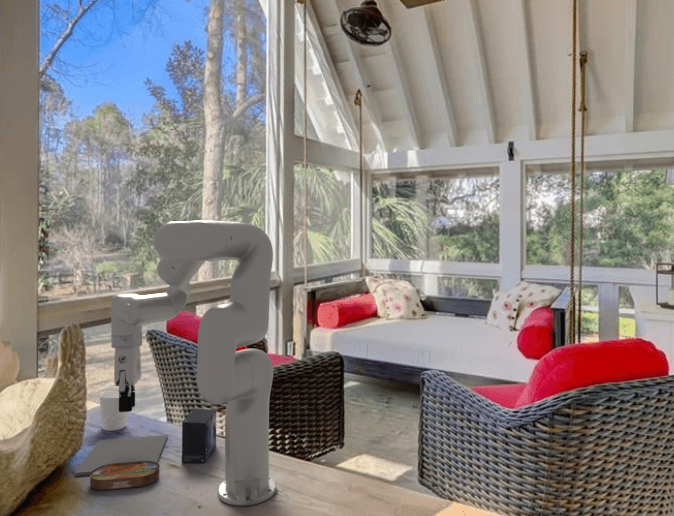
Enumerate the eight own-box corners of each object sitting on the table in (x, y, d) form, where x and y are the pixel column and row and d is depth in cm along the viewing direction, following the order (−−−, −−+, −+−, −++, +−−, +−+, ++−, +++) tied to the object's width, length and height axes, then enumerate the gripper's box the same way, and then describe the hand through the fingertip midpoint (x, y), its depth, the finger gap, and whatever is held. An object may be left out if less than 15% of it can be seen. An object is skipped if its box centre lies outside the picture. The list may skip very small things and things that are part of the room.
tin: (162, 459, 119) (156, 472, 111) (162, 472, 119) (156, 486, 111) (96, 464, 116) (84, 478, 108) (96, 477, 116) (84, 492, 108)
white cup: (111, 433, 142) (110, 399, 142) (94, 428, 146) (93, 395, 146) (134, 425, 149) (134, 392, 149) (117, 420, 153) (117, 388, 153)
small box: (206, 463, 123) (206, 422, 122) (180, 463, 123) (180, 422, 122) (217, 446, 133) (217, 408, 133) (194, 446, 133) (193, 408, 133)
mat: (155, 469, 119) (155, 466, 119) (75, 476, 116) (75, 472, 116) (167, 438, 139) (167, 435, 139) (99, 442, 135) (99, 439, 135)
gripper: (135, 346, 122) (135, 419, 123) (147, 334, 138) (147, 398, 139) (103, 347, 121) (103, 421, 121) (119, 335, 137) (119, 400, 137)
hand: (127, 408), depth 130 cm, fingers open, 2 cm apart
